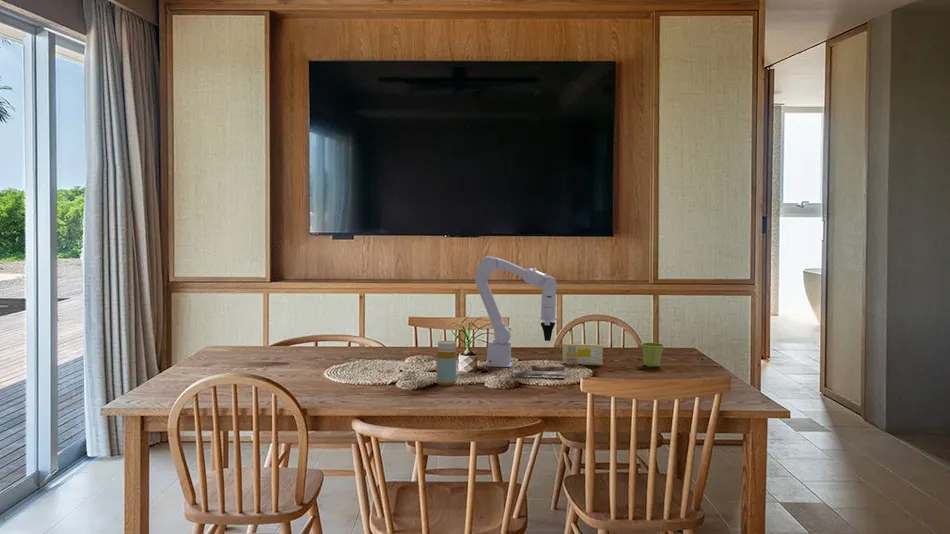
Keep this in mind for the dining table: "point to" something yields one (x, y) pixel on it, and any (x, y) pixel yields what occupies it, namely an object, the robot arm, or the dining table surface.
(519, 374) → the floor strip
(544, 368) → the plank
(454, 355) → the bottle
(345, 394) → the dining table surface
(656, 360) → the plant pot
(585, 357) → the candy box
